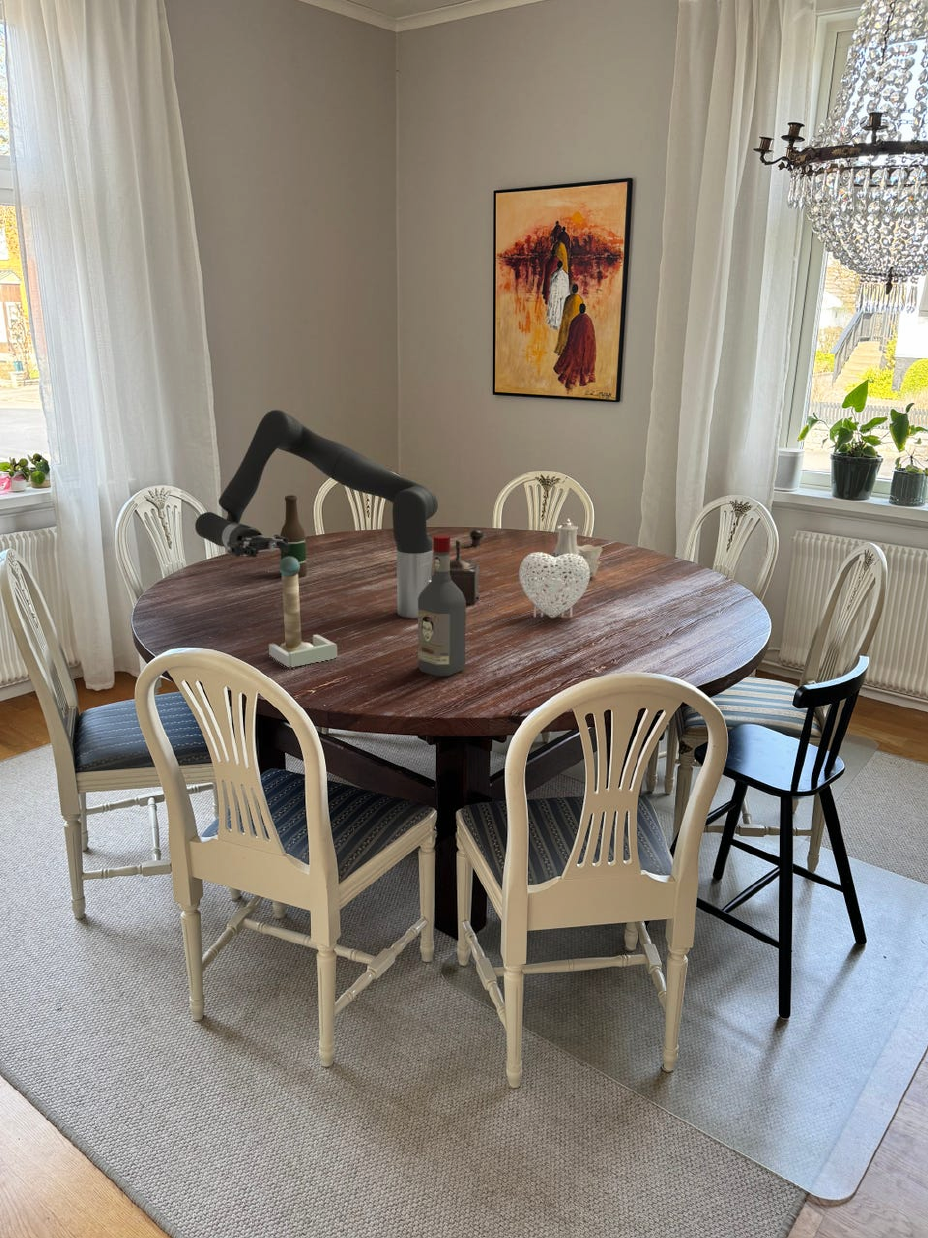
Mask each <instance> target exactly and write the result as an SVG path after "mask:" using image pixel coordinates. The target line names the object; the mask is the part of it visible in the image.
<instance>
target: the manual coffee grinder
mask: <svg viewBox="0 0 928 1238" xmlns="http://www.w3.org/2000/svg"><path fill="white" fill-rule="evenodd" d="M469 537H470V539H471V543H470V545H461V541H460V540H456V541H455V549H456V558H454V559H452V560H450V576H451V580H452V581H453V583H454V584H455V585H456V586H457V587H458V588H459V589H460V590H461V591H462V593H463V595H464V598H465V601H466V606H474V605H475V604H476V603H477V601H478V599H480V594H479V593H480V592H479V567H480V563H479V562H471V561H472V559H471V558H470V560H467V559H465V558H461V553H460V552H461V550H469V549H472V548H474V549H476V548H477V547H481V540H482V539H483V537H484V532H483V531H481V529H472V530H470V532H469Z"/></svg>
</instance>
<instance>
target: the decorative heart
mask: <svg viewBox="0 0 928 1238" xmlns="http://www.w3.org/2000/svg"><path fill="white" fill-rule="evenodd" d="M568 556H569V557H568ZM572 556H573V557H572ZM568 558H571V559H570V560H568ZM578 560H579V561H578ZM563 561H566V562H563ZM569 561H571V563H569ZM575 561H576V562H575ZM556 562H557V563H556ZM583 562H584V563H583ZM520 563H521V564H520V566H519V571H518V573H519V575H518V576H519V583H520V585H521V588H522V590H523V592H524V594H525V595H526V596H527V598H528V599H529V600H530V602H531V603H533V605H534V606H533V607H534V608H533V618H537V609H538V610H539V611H541V612H540V617H541V618H543V617H544V614H545V615H547V616H548V617H550V619H555V618H557V616H560V615H561V618H563V619H564V618H565V611H567V610H569V609H570V611H569V618H570V619H572V618H573V609H574V608H573V606H574V605H575V604H576V603H577V602H578V601H579V600H580V599H581V597H582V596H583V595H584V593H585V592H586V590H587V587H588V585H589V582H590V579H589V576H590V572H589V566H588V564H587V562H586V561H585V560H584V559H583V558H582V557H581V556H579V555H577V554H564V555H561V556H558V557H552V556H551V554H548V553H545V552H541V551H540V552H531V553H530V554H527V556H525V557H524V559H523V560H522V561H521V562H520ZM573 563H575V564H573ZM577 563H579V565H578V564H577ZM581 563H582V564H581ZM565 564H567V565H565ZM552 565H553V567H552ZM555 565H558V566H557V567H556V566H555ZM570 565H572V566H570ZM574 565H576V566H574ZM573 567H574V568H573ZM559 568H561V569H559ZM564 568H566V569H564ZM578 568H579V569H578ZM569 569H570V570H569ZM576 570H577V571H576ZM581 570H582V571H581ZM564 571H566V573H562V572H564ZM569 571H571V573H568V572H569ZM579 575H580V576H579ZM565 577H566V578H565ZM581 577H582V579H581ZM584 577H585V578H584ZM590 577H591V576H590ZM566 585H567V586H566ZM544 590H545V591H544ZM560 590H561V591H560ZM559 591H560V592H559ZM564 603H565V604H564Z"/></svg>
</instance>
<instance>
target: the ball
mask: <svg viewBox="0 0 928 1238" xmlns="http://www.w3.org/2000/svg"><path fill="white" fill-rule="evenodd" d="M311 647H314V646H313V643H312V644H311V642H304V643H303V644H301V645H300V646H299V647H298V650H302V649H306V648H311Z"/></svg>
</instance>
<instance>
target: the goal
mask: <svg viewBox="0 0 928 1238" xmlns="http://www.w3.org/2000/svg"><path fill="white" fill-rule="evenodd" d="M312 645H313V646H314V647H311V648H306V649H302V650H297V651H293V652H287V651H285V650H284V649H282V648H280V646H278V645H277V644H275V643H270V644H268V654H269V655H271V656H272V657H274V658H275V659H277V660H278V661H280V662H281V663H283V664H284V665H286V666H287V667H289V666H291V667H295V666H300V665H305V664H310V663H315V662H319V663H322V662H321V661H324V662H326V661H325V660H328V661H331V660H330V659H333V660H335V659H334V658H336V657H337V658H338V645H337V644H336V643H334V642H332V641H330V640H328V639H326V638H325V637H323V636H321V635H319V634H313V635H312ZM337 658H336V659H337ZM315 664H316V663H315Z"/></svg>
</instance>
